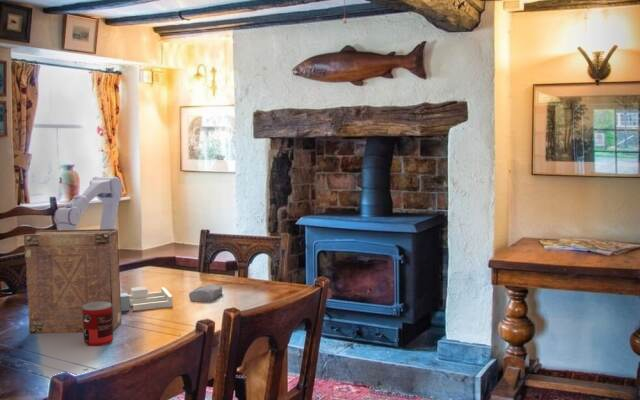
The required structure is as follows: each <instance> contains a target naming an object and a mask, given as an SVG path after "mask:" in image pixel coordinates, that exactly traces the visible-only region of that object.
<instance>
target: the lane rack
mask: <svg viewBox="0 0 640 400" xmlns="http://www.w3.org/2000/svg"><path fill="white" fill-rule="evenodd" d="M160 290H161V291H155V292H148V298H141V299H132V300H131V294H128V295H129V307H132V311H133V312H134V311H135V312H136V311H143V310H144V311H145V310H152V309H154V310H155V309H161V308H170V307H171V308H172V307H174V304H173V303H174V302H173V301H174V300H173V298H174V297H173V295H172V294H171V293H170V292H169V291H168V290H167V289H166V287H160Z"/></svg>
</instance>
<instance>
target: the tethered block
mask: <svg viewBox="0 0 640 400" xmlns="http://www.w3.org/2000/svg"><path fill="white" fill-rule="evenodd" d="M129 295H130V294H128V292H122V293H121V292H120V300H121V312H127V311H130V301H129Z"/></svg>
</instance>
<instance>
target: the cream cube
mask: <svg viewBox="0 0 640 400" xmlns="http://www.w3.org/2000/svg"><path fill="white" fill-rule="evenodd" d="M148 293H149V292H148V288H147V287H146V286H137V287H131V288H130V295H131V300H132V299H141V298H148Z"/></svg>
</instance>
